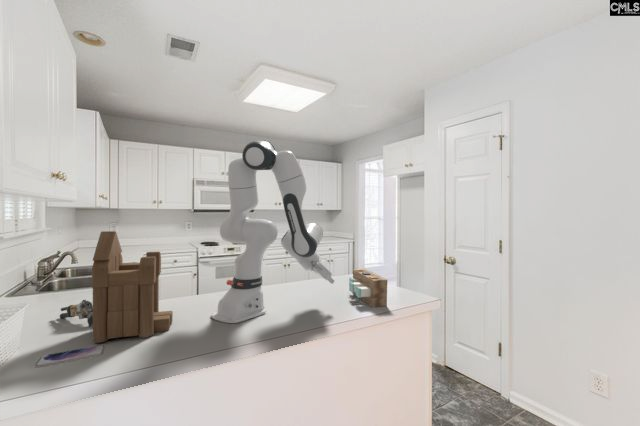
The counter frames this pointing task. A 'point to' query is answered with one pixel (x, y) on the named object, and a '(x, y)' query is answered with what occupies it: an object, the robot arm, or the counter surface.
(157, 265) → the castle structure
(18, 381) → the counter surface
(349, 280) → the plunger far
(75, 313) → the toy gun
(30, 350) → the counter surface
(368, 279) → the console
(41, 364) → the smartphone
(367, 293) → the plunger near
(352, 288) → the plunger middle
